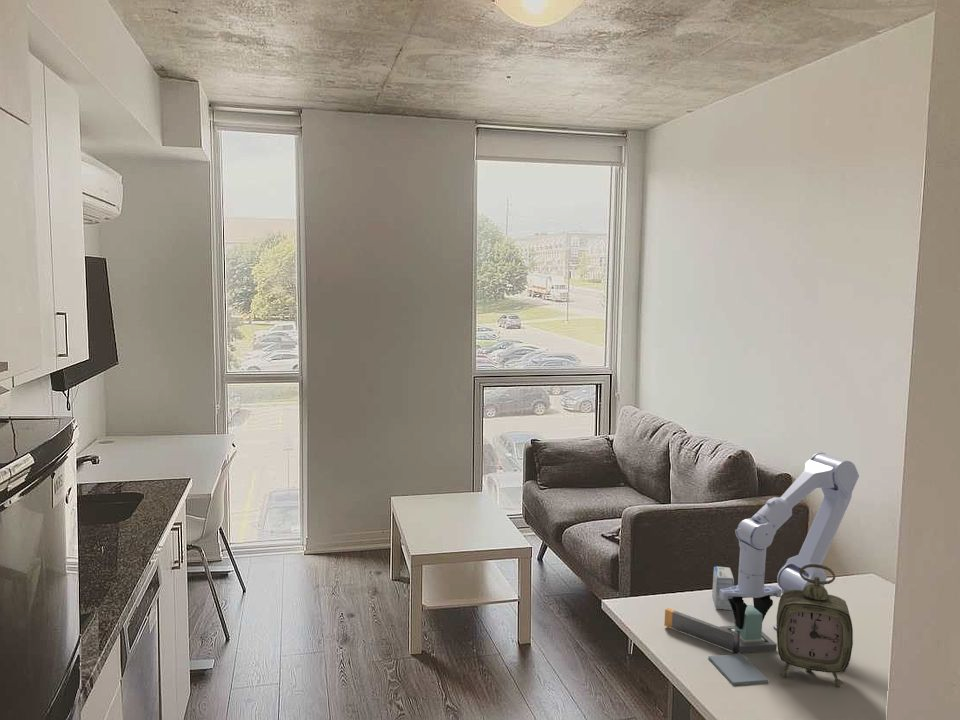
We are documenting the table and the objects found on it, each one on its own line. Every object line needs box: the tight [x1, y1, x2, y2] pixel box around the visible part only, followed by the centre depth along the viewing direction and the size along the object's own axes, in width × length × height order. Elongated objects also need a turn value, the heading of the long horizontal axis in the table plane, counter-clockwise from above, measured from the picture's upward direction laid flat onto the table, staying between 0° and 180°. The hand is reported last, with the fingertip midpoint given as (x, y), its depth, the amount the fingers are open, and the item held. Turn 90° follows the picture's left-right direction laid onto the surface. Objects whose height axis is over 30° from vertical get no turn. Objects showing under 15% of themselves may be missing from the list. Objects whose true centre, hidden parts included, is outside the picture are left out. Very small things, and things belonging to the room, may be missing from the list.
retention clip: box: [664, 607, 740, 654], centre depth 177 cm, size 1×19×5 cm, turn 46°
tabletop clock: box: [776, 564, 854, 688], centre depth 161 cm, size 14×9×25 cm, turn 70°
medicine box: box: [711, 566, 735, 611], centre depth 197 cm, size 8×4×9 cm, turn 168°
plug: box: [731, 604, 765, 644], centre depth 177 cm, size 5×6×7 cm
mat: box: [707, 653, 769, 686], centre depth 164 cm, size 8×11×1 cm
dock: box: [719, 625, 778, 654], centre depth 177 cm, size 9×10×2 cm
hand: (748, 626), depth 177 cm, fingers closed on plug, 4 cm apart
